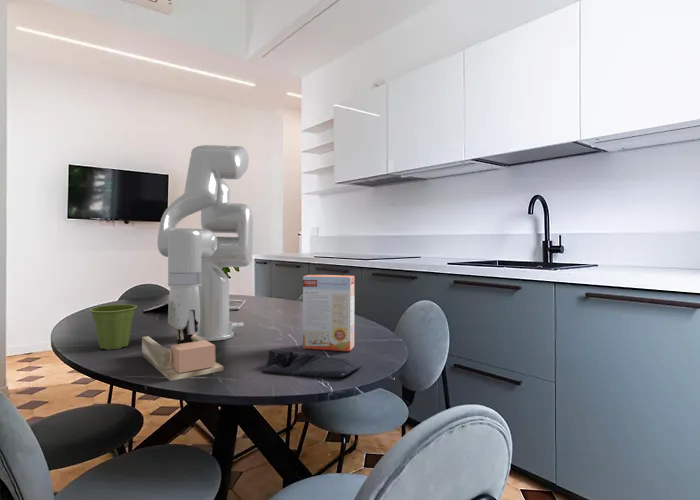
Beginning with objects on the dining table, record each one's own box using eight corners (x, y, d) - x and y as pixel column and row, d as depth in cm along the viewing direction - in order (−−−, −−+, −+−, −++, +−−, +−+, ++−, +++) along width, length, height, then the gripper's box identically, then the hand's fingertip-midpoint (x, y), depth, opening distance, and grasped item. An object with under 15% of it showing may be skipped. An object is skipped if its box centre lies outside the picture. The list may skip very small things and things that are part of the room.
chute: (188, 348, 119) (188, 331, 119) (223, 370, 100) (223, 349, 100) (142, 355, 112) (142, 337, 112) (170, 380, 92) (170, 358, 92)
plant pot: (83, 346, 120) (83, 307, 120) (128, 340, 129) (128, 303, 129) (97, 354, 112) (97, 312, 112) (143, 346, 121) (143, 307, 121)
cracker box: (354, 347, 123) (355, 275, 122) (350, 352, 117) (350, 276, 116) (308, 344, 126) (309, 273, 125) (301, 349, 120) (302, 275, 119)
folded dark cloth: (343, 386, 91) (343, 364, 91) (256, 374, 99) (256, 354, 99) (366, 366, 105) (366, 347, 105) (288, 357, 113) (288, 339, 113)
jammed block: (205, 360, 103) (205, 340, 103) (214, 366, 99) (214, 345, 98) (171, 366, 98) (171, 345, 98) (179, 373, 94) (179, 350, 93)
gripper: (159, 278, 106) (160, 351, 106) (178, 283, 94) (178, 365, 94) (190, 277, 110) (190, 347, 111) (211, 281, 99) (211, 359, 99)
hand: (184, 355), depth 102 cm, fingers closed
